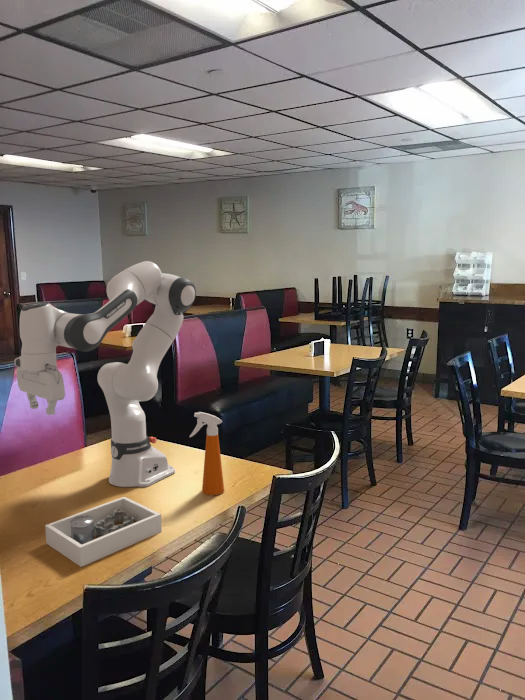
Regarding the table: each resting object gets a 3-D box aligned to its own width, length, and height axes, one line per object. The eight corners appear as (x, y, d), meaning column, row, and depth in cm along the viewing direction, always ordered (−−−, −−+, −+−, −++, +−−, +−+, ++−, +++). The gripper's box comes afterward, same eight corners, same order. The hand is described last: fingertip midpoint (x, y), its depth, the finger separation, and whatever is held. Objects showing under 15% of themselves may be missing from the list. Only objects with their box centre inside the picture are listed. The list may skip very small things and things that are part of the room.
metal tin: (87, 538, 148) (86, 513, 147) (99, 545, 144) (98, 520, 143) (67, 546, 144) (65, 520, 143) (78, 554, 140) (77, 528, 139)
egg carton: (121, 520, 159) (120, 506, 158) (138, 527, 155) (138, 513, 154) (89, 534, 151) (88, 520, 150) (106, 542, 146) (105, 528, 146)
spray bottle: (188, 490, 179) (186, 410, 175) (220, 485, 183) (220, 407, 178) (193, 499, 172) (191, 416, 168) (227, 494, 176) (226, 412, 172)
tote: (124, 512, 163) (124, 496, 162) (161, 531, 152) (161, 514, 151) (46, 543, 145) (45, 525, 145) (81, 567, 134) (80, 547, 133)
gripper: (69, 365, 149) (72, 415, 151) (33, 356, 162) (36, 403, 164) (46, 368, 144) (50, 420, 146) (11, 359, 158) (14, 407, 160)
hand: (42, 411), depth 156 cm, fingers open, 8 cm apart
